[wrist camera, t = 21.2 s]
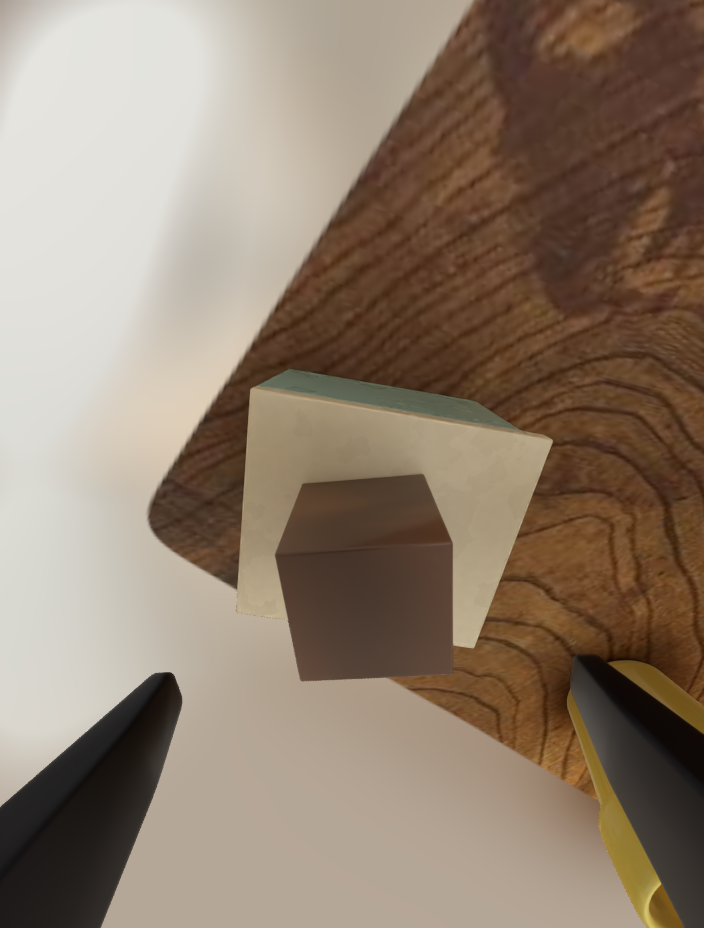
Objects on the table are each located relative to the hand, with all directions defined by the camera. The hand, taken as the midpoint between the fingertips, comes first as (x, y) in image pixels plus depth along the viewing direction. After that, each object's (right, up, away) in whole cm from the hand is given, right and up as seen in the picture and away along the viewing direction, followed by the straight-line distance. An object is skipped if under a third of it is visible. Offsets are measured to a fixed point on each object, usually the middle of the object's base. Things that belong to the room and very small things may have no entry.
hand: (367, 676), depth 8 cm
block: (0, +2, +6) cm, 6 cm away
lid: (+1, +2, +6) cm, 7 cm away
